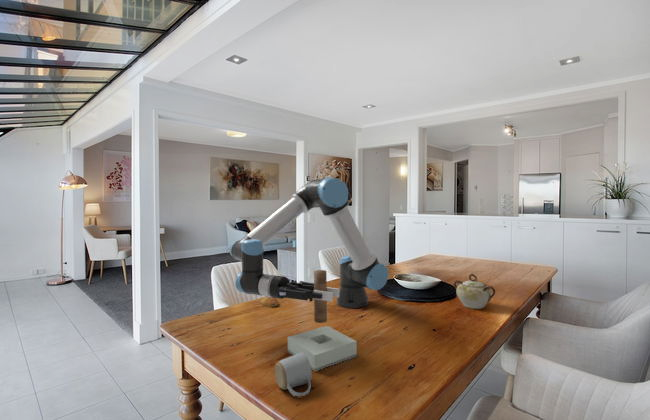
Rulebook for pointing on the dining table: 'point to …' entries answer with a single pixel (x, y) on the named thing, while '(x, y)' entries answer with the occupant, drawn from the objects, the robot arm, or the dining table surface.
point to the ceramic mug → (293, 373)
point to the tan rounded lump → (269, 301)
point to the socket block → (323, 347)
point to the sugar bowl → (473, 293)
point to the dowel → (320, 305)
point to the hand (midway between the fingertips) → (335, 295)
